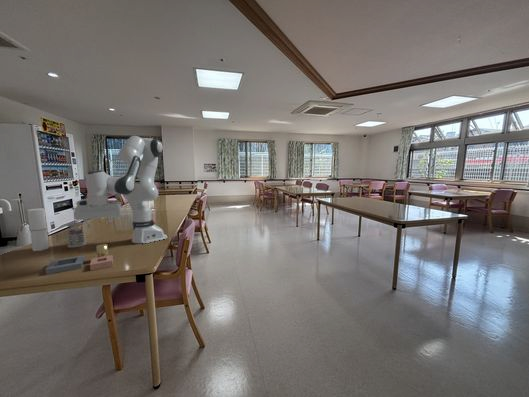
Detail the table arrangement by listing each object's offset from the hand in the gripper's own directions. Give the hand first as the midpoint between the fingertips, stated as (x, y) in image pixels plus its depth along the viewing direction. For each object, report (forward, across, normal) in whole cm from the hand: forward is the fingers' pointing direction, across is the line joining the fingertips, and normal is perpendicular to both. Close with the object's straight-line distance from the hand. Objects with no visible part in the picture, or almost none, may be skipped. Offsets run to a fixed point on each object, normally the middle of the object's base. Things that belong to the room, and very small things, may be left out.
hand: (99, 226), depth 119 cm
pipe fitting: (+19, 0, 0) cm, 19 cm away
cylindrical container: (+19, +33, -41) cm, 56 cm away
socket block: (+19, +15, +1) cm, 24 cm away
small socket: (+19, 0, +9) cm, 21 cm away
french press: (+19, +16, -38) cm, 46 cm away
